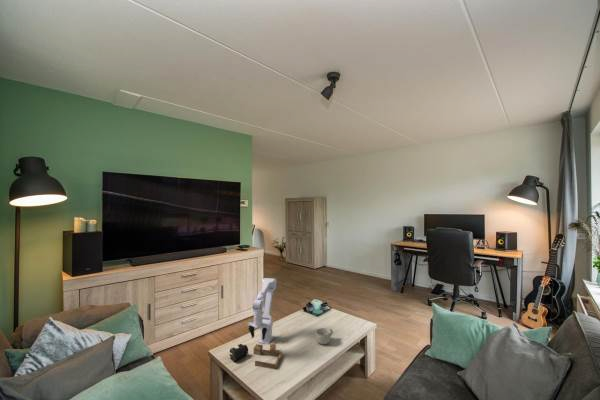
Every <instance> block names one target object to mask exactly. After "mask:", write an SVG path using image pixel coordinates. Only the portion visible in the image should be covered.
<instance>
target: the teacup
mask: <svg viewBox="0 0 600 400" xmlns="http://www.w3.org/2000/svg"><path fill="white" fill-rule="evenodd" d="M333 331H334V330H333V329H331V328H325V327H320V328H317V329H316V330H315V340H316V342H317V343H319V344H320V345H323V346H324V345H327V344H328V343H330V341H331V336H332V335H333Z"/></svg>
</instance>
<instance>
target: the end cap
mask: <svg viewBox="0 0 600 400" xmlns="http://www.w3.org/2000/svg"><path fill="white" fill-rule="evenodd" d="M248 353H249V348H248V345H247V344H242V343H239V344H237V348H236V347H234V346H233V347H230V349H229V357H230V358H229V360H231V361H232V362H235V361H237V360H239V359H241V358H243V357H245V356H247V354H248Z"/></svg>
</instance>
